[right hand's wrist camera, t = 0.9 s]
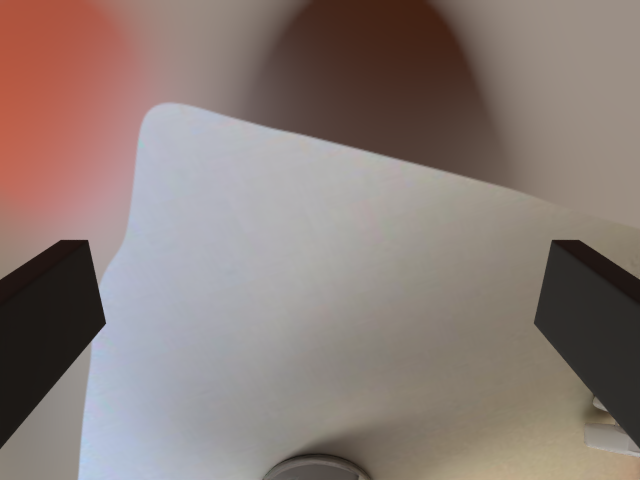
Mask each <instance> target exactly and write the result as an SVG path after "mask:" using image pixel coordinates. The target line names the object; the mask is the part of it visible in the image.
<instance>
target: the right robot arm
mask: <svg viewBox="0 0 640 480" xmlns="http://www.w3.org/2000/svg"><path fill="white" fill-rule="evenodd" d="M105 324H106V321H105V316H104V312H103V307H102V302H101V298H100V293H99V288H98V284H97V279H96V275H95V270H94V266H93V261H92V256H91V252H90V247H89V242H88V240H60V241H59V242H57V243H56V244H54V245H53V246H51V247H49V248H48V249H46V250H45V251H43V252H42V253H40V254H39V255H37V256H36V257H34V258H33V259H31V260H30V261H28V262H27V263H25V264H24V265H22V266H21V267H19V268H17V269H16V270H14V271H13V272H11V273H10V274H8V275H7V276H5V277H4V278H2V279H1V280H0V449H1V447H2V446H3V445H4V444H5V443H6V442H7V440H8V439H9V438H10V437H11V436H12V434H13V433H14V432H15V431H16V430H17V428H18V427H19V426H20V425H21V424H22V423H23V421H24V420H25V419H26V418H27V417H28V415H29V414H30V413H31V412H32V411H33V409H34V408H35V407H36V406H37V405H38V404H39V402H40V401H41V400H42V399H43V398H44V396H45V395H46V394H47V393H48V392H49V391H50V389H51V388H52V387H53V386H54V385H55V383H56V382H57V381H58V380H59V379H60V377H61V376H62V375H63V374H64V373H65V372H66V370H67V369H68V368H69V367H70V366H71V364H72V363H73V362H74V361H75V360H76V359H77V357H78V356H79V355H80V354H81V353H82V351H83V350H84V349H85V348H86V347H87V345H88V344H89V343H90V342H91V341H92V340H93V338H94V337H95V336H96V335H97V334H98V332H99V331H100V330H101V329H102V328H103V327H104V325H105ZM534 324H535V325H536V327H537V328H538V329H539V330H540V331H541V332H542V334H543V335H544V336H545V337H546V338H547V340H548V341H549V342H550V343H551V344H552V345H553V347H554V348H555V349H556V350H557V351H558V353H559V354H560V355H561V356H562V357H563V359H564V360H565V361H566V362H567V363H568V364H569V366H570V367H571V368H572V369H573V370H574V372H575V373H576V374H577V375H578V376H579V378H580V379H581V380H582V381H583V382H584V383H585V385H586V386H587V387H588V388H589V389H590V391H591V392H592V393H593V394H594V395H595V396H596V398H597V399H598V400H599V401H600V402H601V404H602V405H603V406H604V407H605V408H606V410H607V411H608V412H609V413H610V414H611V415H612V417H613V418H614V419H615V420H616V421H617V423H618V424H619V425H620V426H621V427H622V429H623V430H624V431H625V432H626V433H627V434H628V436H629V437H630V438H631V439H632V440H633V442H634V443H635V444H636V445H637V446H638V447H639V449H640V280H639V279H638V278H636V277H635V276H633V275H632V274H630V273H629V272H627V271H626V270H624V269H623V268H621V267H619V266H618V265H616V264H615V263H613V262H612V261H610V260H609V259H607V258H606V257H604V256H603V255H601V254H600V253H598V252H597V251H595V250H594V249H592V248H591V247H589V246H587V245H586V244H584V243H583V242H581V241H580V240H552V242H551V247H550V252H549V256H548V261H547V265H546V270H545V275H544V279H543V284H542V288H541V293H540V298H539V302H538V307H537V312H536V316H535V321H534ZM263 480H371V479H370V478H369V476H368V475H367V474H366V473H365V472H364V471H363V470H362V469H361V468H359V467H358V466H356V465H355V464H353V463H351V462H349V461H347V460H344V459H341V458H338V457H334V456H328V455H305V456H299V457H295V458H292V459H289V460H286V461H284V462H282V463H280V464H279V465H277V466H275V467H274V468H273V469H272V470H270V471H269V472H268V473H267V474H266V476H265V477H264V478H263Z"/></svg>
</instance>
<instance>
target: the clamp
mask: <svg viewBox="0 0 640 480" xmlns="http://www.w3.org/2000/svg"><path fill="white" fill-rule="evenodd" d="M593 404H594V406H595V407H597V408H599V409H602V410H604V411H606V412H608V411H607V410H606V408H605V407H604V406H603V405H602V404H601V402H600V401H599V400H598V399H597V398H596V396H595V398H594V399H593ZM584 443H585V444H586V445H587V446H588V447H592V448H597V449H601V450H606V451H610V452H615V453H620V454H625V455H630V456H635V457H640V449H639V447H638V446H637V445H636V444H635V443H634V442H633V440H632V439H631V438H630V437H629V436H628V434H627V433H626V432H625V431H624V430H623V429H622V427H621V426H618V423H617V421H616V420H615V425H612V424H596V423H585V424H584Z"/></svg>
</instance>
